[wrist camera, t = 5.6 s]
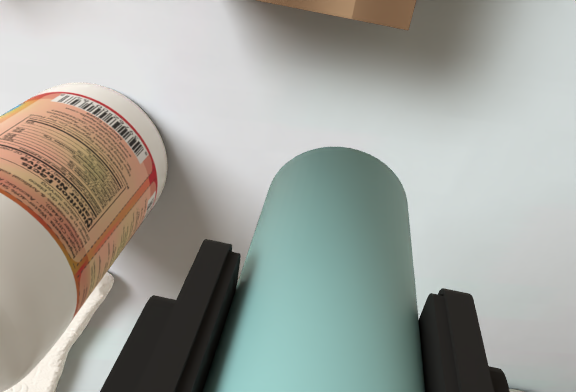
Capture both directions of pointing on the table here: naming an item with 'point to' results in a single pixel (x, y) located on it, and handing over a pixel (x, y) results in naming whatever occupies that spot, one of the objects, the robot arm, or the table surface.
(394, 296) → the peg
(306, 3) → the block
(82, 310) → the flat white fragment
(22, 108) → the fruit juice
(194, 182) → the table surface
